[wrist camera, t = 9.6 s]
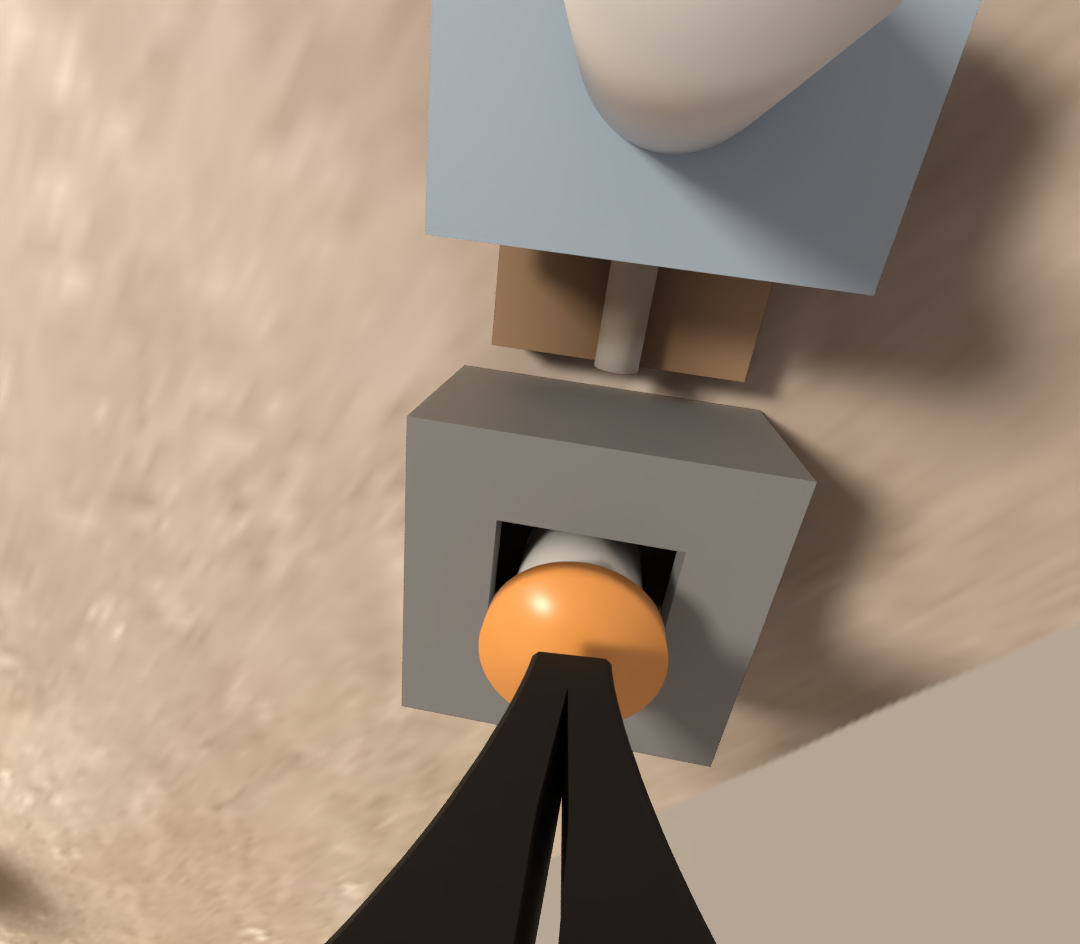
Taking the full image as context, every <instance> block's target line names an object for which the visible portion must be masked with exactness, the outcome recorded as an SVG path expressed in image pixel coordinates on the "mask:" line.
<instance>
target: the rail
mask: <svg viewBox="0 0 1080 944" xmlns="http://www.w3.org/2000/svg"><path fill="white" fill-rule="evenodd" d="M772 284H773V282H769V281H762V280H755V279H747V278H740V277H733V276H725V275H718V274H711V273H703V272H696V271H689V270H681V269H674V268H667V267H659V266H652V265H645V264H638V263H630V262H623V261H616V260H608V259H601V258H594V257H586V256H579V255H572V254H564V253H557V252H550V251H542V250H535V249H528V248H520V247H513V246H506V245H500V250H499V262H498V275H497V287H496V299H495V311H494V323H493V335H492V345H498V346H504V347H511V348H518V349H524V350H531V351H538V352H544V353H551V354H558V355H565V356H571V357H578V358H585V359H591V360H595V363H594V366H595V367H596V368H598V369H601V370H603V371H607V372H611V373H617V374H635V373H637V372H638V368H639V367H645V368H652V369H658V370H665V371H672V372H678V373H685V374H692V375H698V376H705V377H712V378H719V379H725V380H732V381H739V382H744V381H745V378H746V374H747V371H748V367H749V364H750V360H751V357H752V353H753V350H754V346H755V343H756V339H757V336H758V332H759V329H760V325H761V322H762V318H763V315H764V311H765V308H766V305H767V301H768V298H769V294H770V291H771V287H772Z"/></svg>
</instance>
